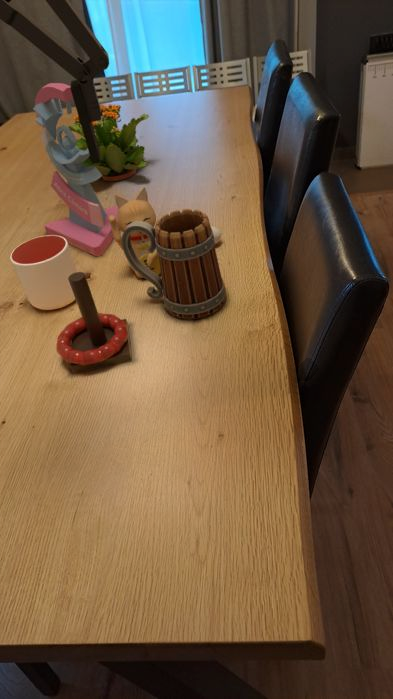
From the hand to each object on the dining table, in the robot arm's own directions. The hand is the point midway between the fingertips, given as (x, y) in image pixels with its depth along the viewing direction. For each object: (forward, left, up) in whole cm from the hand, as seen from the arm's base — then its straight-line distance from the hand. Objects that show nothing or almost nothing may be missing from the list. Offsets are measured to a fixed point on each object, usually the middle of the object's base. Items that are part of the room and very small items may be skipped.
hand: (26, 173), depth 47 cm
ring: (+2, -13, -30) cm, 33 cm away
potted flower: (-5, -85, -33) cm, 92 cm away
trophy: (+4, -53, -33) cm, 63 cm away
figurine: (-8, -34, -33) cm, 48 cm away
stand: (+1, -13, -33) cm, 36 cm away
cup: (+9, -31, -33) cm, 47 cm away
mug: (-13, -21, -33) cm, 41 cm away
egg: (-21, -38, -33) cm, 55 cm away
